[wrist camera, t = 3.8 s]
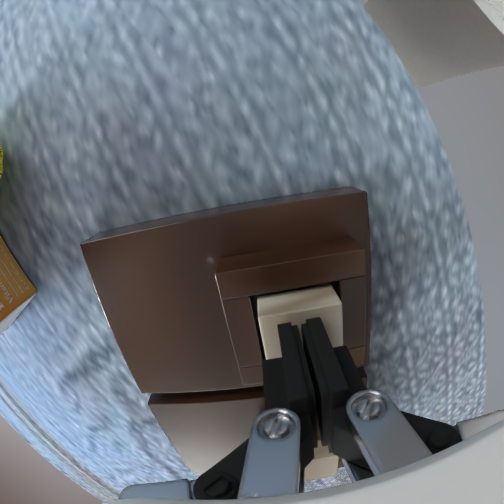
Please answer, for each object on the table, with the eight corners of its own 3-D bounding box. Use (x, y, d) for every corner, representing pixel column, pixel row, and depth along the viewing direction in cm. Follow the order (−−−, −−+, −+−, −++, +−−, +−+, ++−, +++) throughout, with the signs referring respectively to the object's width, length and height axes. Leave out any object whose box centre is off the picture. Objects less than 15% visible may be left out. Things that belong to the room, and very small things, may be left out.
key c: (331, 283, 12) (342, 302, 11) (334, 343, 13) (343, 365, 12) (256, 296, 12) (257, 317, 11) (267, 354, 13) (269, 379, 12)
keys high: (357, 356, 18) (376, 397, 14) (351, 437, 21) (361, 472, 17) (155, 382, 19) (140, 423, 15) (195, 456, 22) (190, 490, 18)
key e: (334, 434, 16) (339, 454, 14) (332, 456, 17) (337, 475, 15) (284, 442, 16) (286, 464, 14) (288, 464, 17) (290, 483, 15)
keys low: (351, 186, 14) (383, 197, 11) (358, 344, 18) (378, 385, 14) (98, 232, 15) (60, 255, 11) (150, 372, 18) (133, 413, 14)
